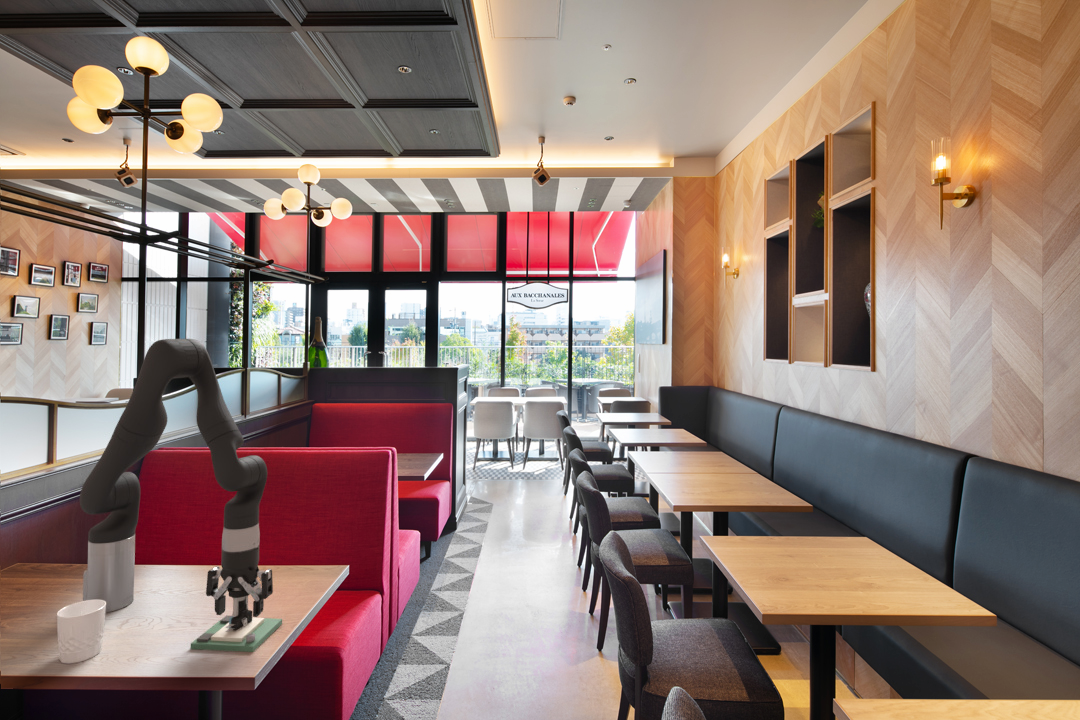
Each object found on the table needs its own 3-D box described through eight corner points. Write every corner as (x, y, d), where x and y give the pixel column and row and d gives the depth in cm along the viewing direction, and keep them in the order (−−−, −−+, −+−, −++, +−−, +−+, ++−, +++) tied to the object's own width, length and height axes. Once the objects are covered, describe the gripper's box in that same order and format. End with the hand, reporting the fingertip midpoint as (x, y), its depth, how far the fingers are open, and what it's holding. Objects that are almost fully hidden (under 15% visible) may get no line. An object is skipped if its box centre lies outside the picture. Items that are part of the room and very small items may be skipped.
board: (190, 648, 114) (190, 637, 114) (225, 621, 126) (225, 611, 126) (253, 651, 114) (253, 641, 114) (282, 623, 126) (282, 613, 126)
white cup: (75, 644, 115) (77, 599, 115) (114, 644, 115) (115, 599, 115) (45, 666, 107) (46, 617, 107) (86, 665, 107) (87, 617, 107)
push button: (236, 636, 116) (237, 591, 116) (216, 632, 117) (217, 588, 117) (258, 621, 123) (259, 579, 123) (239, 618, 124) (240, 576, 124)
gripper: (199, 549, 116) (197, 621, 117) (262, 551, 116) (260, 624, 116) (221, 537, 124) (219, 605, 124) (280, 539, 123) (278, 608, 124)
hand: (239, 614), depth 120 cm, fingers open, 8 cm apart
